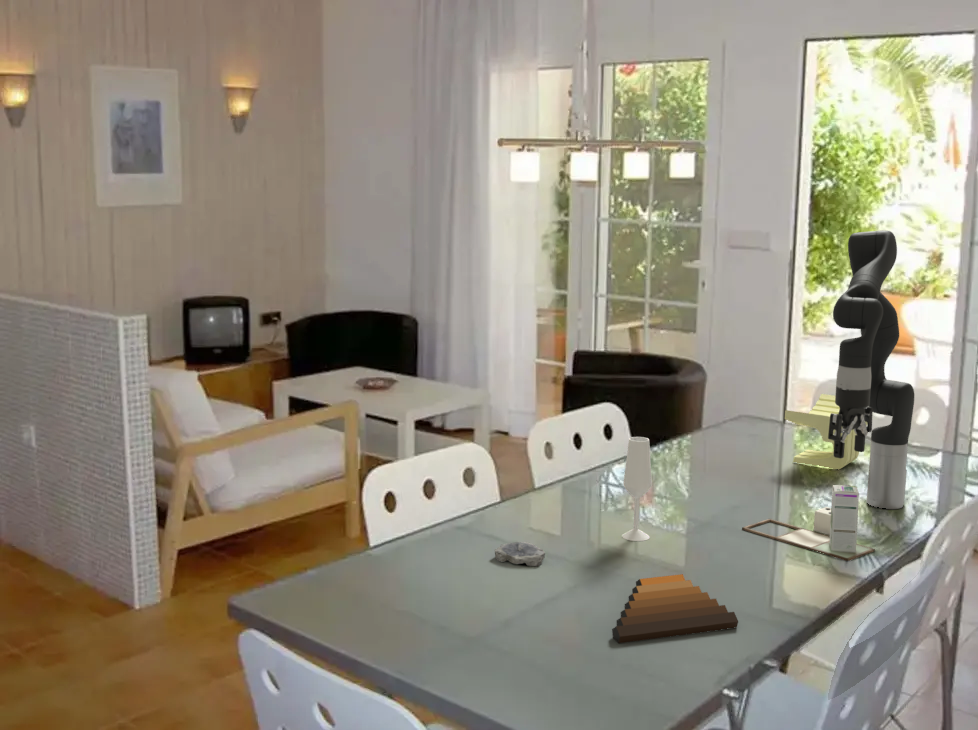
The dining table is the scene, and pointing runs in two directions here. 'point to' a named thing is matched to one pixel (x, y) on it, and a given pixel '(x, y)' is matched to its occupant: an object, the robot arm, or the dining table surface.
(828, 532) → the die
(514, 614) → the dining table surface
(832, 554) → the board
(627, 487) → the champagne flute
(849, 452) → the slatted curved stool
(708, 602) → the pan flute
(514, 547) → the grey stone dish
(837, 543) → the syrup box
